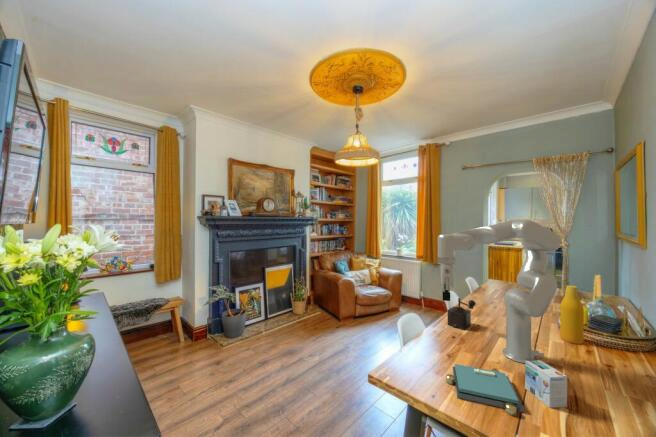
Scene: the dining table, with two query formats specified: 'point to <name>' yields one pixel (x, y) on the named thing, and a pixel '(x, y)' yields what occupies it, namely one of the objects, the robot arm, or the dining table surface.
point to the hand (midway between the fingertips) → (446, 300)
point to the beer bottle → (572, 317)
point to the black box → (460, 315)
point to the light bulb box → (546, 383)
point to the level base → (508, 406)
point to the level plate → (484, 383)
